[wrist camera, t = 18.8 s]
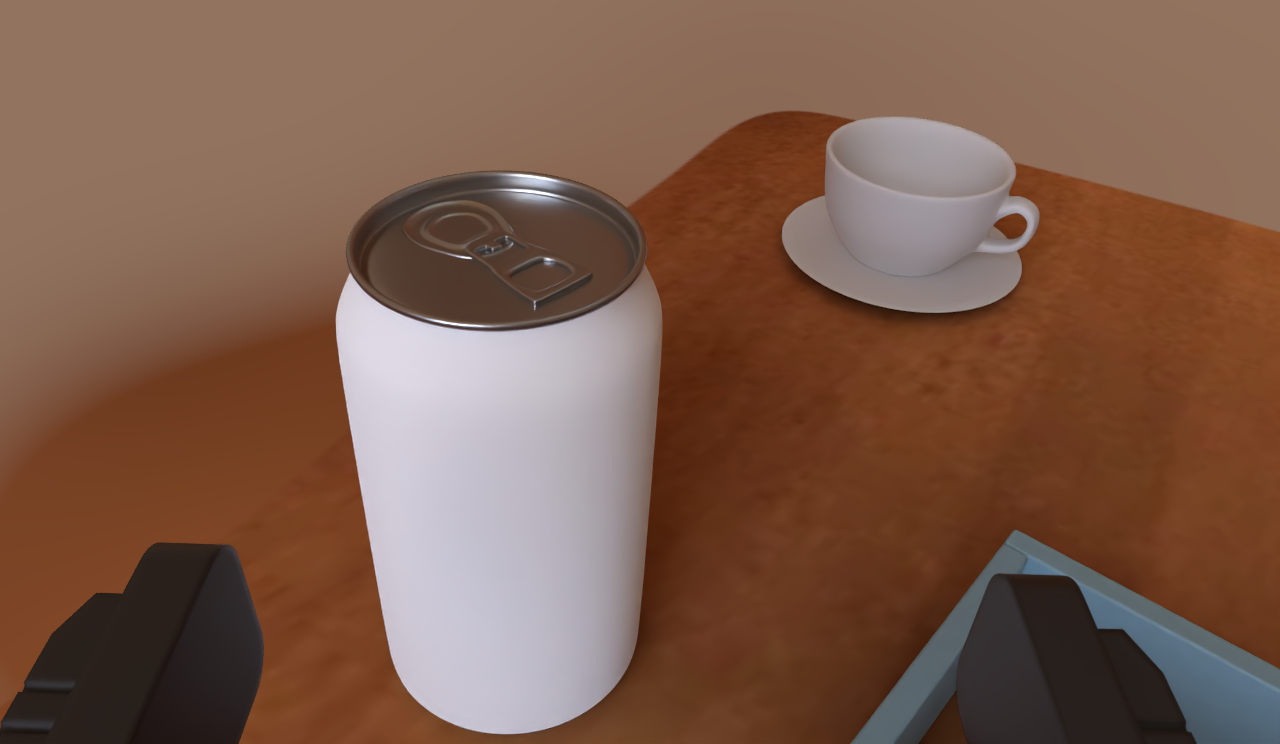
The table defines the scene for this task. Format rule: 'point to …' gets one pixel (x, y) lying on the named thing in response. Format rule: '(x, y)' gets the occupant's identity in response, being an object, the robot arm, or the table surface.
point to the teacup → (912, 217)
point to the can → (504, 438)
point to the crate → (1186, 653)
